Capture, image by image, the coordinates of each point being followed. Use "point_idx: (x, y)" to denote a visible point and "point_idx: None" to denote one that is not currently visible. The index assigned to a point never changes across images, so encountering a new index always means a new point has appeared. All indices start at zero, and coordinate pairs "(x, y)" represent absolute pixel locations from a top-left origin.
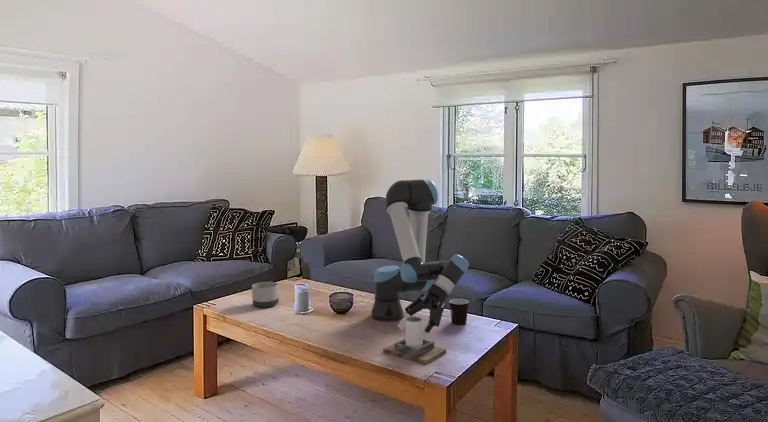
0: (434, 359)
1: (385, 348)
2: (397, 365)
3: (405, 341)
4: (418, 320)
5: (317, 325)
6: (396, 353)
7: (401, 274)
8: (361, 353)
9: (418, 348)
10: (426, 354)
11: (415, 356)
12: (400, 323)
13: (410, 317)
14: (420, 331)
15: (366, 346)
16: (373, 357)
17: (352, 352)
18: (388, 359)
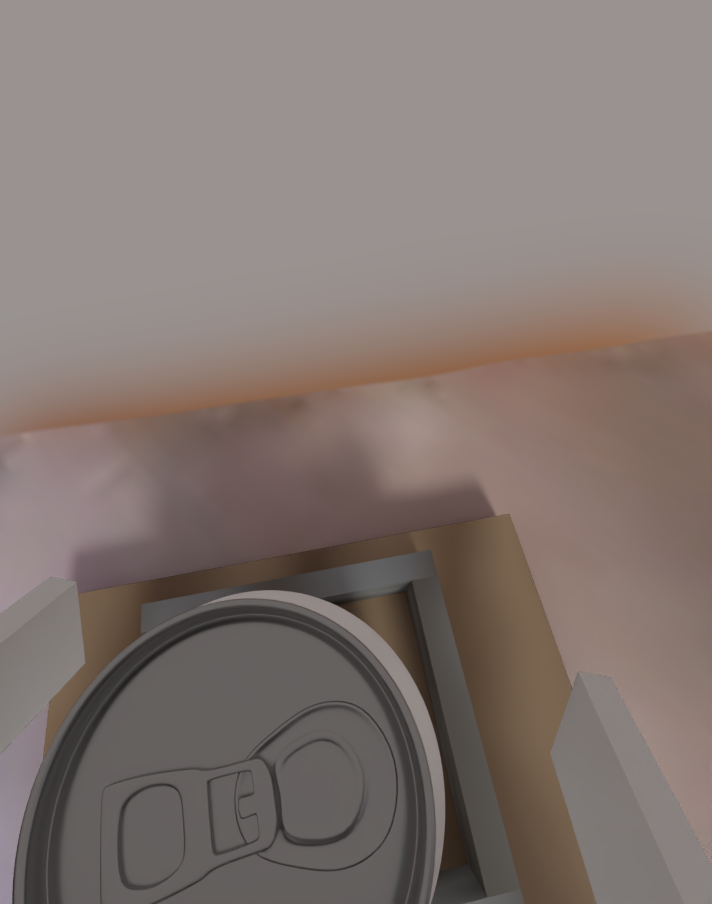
0: None
1: (498, 528)
2: (242, 444)
3: (443, 724)
4: (103, 889)
5: None
6: (369, 542)
7: None
8: (566, 404)
9: None
10: None
11: (185, 595)
12: (605, 728)
13: (422, 877)
14: (3, 640)
15: (682, 507)
16: (457, 418)
17: (614, 376)
18: (362, 465)
